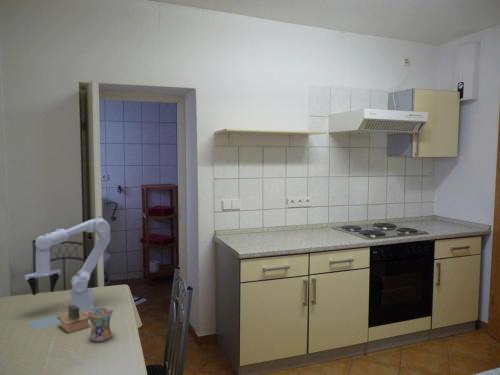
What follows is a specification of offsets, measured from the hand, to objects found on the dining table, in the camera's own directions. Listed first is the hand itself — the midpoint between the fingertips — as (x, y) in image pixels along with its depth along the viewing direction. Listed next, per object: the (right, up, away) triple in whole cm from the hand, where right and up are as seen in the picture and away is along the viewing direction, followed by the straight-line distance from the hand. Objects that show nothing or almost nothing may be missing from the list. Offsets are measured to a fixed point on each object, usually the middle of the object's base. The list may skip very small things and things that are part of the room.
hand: (43, 292), depth 179 cm
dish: (+19, -12, -12) cm, 26 cm away
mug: (+33, -13, -20) cm, 40 cm away
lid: (+19, -8, -12) cm, 24 cm away
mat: (+5, -11, -8) cm, 15 cm away
